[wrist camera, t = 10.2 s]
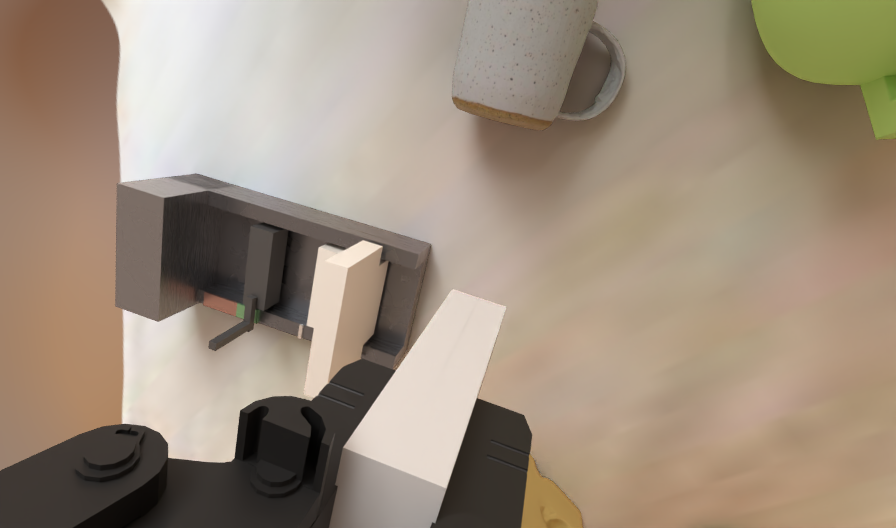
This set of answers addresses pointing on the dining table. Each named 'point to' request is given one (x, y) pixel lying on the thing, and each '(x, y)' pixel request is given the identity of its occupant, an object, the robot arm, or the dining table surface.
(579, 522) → the cheese
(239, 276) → the gauge track
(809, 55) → the teapot
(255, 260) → the indicator
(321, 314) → the cream stepped block
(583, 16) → the ceramic mug
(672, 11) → the dining table surface
